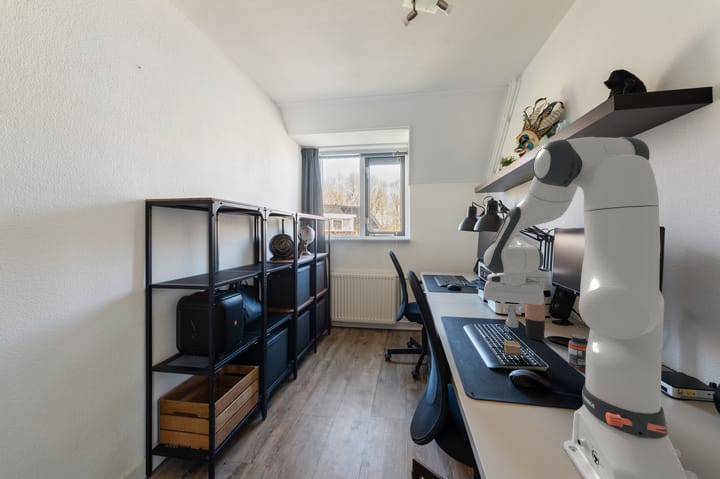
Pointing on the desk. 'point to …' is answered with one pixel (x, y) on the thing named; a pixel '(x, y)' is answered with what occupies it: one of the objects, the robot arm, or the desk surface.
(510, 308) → the rook chess piece
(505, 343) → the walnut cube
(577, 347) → the supplement bottle
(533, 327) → the travel mug
